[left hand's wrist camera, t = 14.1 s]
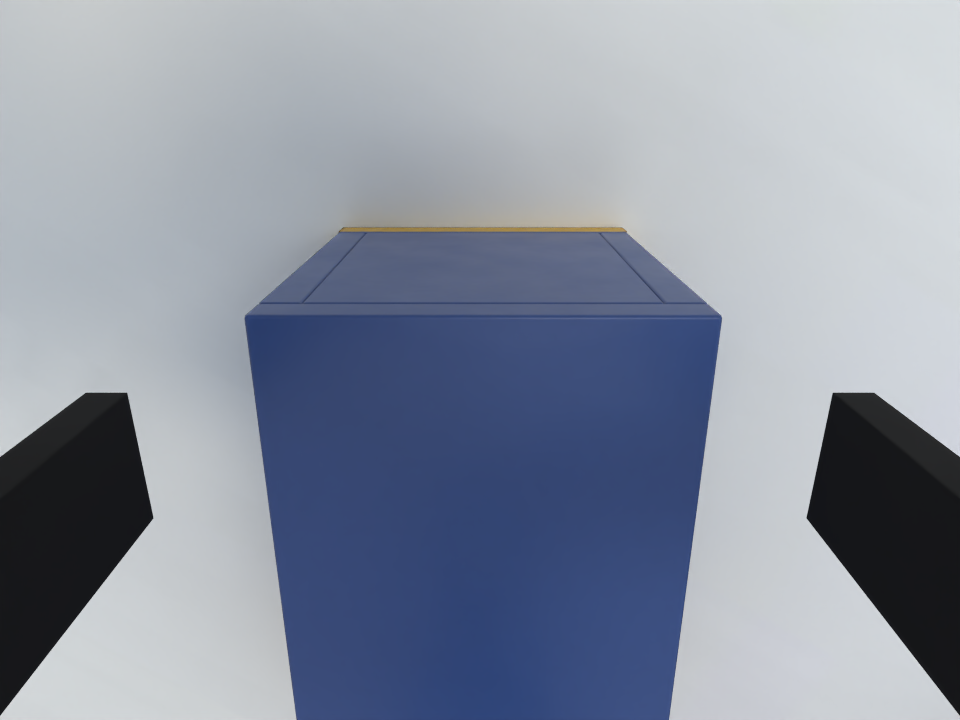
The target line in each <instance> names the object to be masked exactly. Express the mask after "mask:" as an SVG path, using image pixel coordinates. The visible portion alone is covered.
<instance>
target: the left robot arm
mask: <svg viewBox="0 0 960 720" xmlns="http://www.w3.org/2000/svg"><path fill="white" fill-rule="evenodd" d="M152 519H153V514H152V509H151V504H150V500H149V495H148V490H147V485H146V481H145V476H144V471H143V466H142V461H141V457H140V452H139V447H138V442H137V438H136V433H135V428H134V423H133V419H132V414H131V409H130V404H129V399H128V395H127V393H85V394H84V395H82V396H81V397H80V398H78V399H77V400H76V401H74V402H73V403H72V404H70V405H69V406H68V407H66V408H65V409H64V410H62V411H61V412H60V413H58V414H57V415H56V416H54V417H53V418H52V419H50V420H49V421H48V422H46V423H45V424H44V425H42V426H41V427H40V428H38V429H37V430H36V431H34V432H33V433H32V434H30V435H29V436H28V437H26V438H25V439H24V440H22V441H21V442H20V443H18V444H17V445H16V446H14V447H13V448H12V449H10V450H9V451H8V452H6V453H5V454H4V455H2V456H1V457H0V715H1V714H2V713H3V711H4V710H5V709H6V707H7V706H8V705H9V704H10V702H11V701H12V700H13V698H14V697H15V696H16V695H17V693H18V692H19V691H20V689H21V688H22V687H23V686H24V684H25V683H26V682H27V680H28V679H29V678H30V677H31V675H32V674H33V673H34V671H35V670H36V669H37V667H38V666H39V665H40V664H41V662H42V661H43V660H44V658H45V657H46V656H47V655H48V653H49V652H50V651H51V649H52V648H53V647H54V646H55V644H56V643H57V642H58V640H59V639H60V638H61V637H62V635H63V634H64V633H65V631H66V630H67V629H68V628H69V626H70V625H71V624H72V622H73V621H74V620H75V619H76V617H77V616H78V615H79V613H80V612H81V611H82V610H83V608H84V607H85V606H86V604H87V603H88V602H89V600H90V599H91V598H92V597H93V595H94V594H95V593H96V591H97V590H98V589H99V588H100V586H101V585H102V584H103V582H104V581H105V580H106V579H107V577H108V576H109V575H110V573H111V572H112V571H113V570H114V568H115V567H116V566H117V564H118V563H119V562H120V561H121V559H122V558H123V557H124V555H125V554H126V553H127V552H128V550H129V549H130V548H131V546H132V545H133V544H134V543H135V541H136V540H137V539H138V537H139V536H140V535H141V534H142V532H143V531H144V530H145V528H146V527H147V526H148V524H149V523H150V522H151V521H152ZM807 519H808V521H809V522H810V523H811V524H812V526H813V527H814V528H815V530H816V531H817V532H818V534H819V535H820V536H821V537H822V539H823V540H824V541H825V543H826V544H827V545H828V546H829V548H830V549H831V550H832V552H833V553H834V554H835V555H836V557H837V558H838V559H839V561H840V562H841V563H842V564H843V566H844V567H845V568H846V570H847V571H848V572H849V573H850V575H851V576H852V577H853V579H854V580H855V581H856V582H857V584H858V585H859V586H860V588H861V589H862V590H863V591H864V593H865V594H866V595H867V597H868V598H869V599H870V601H871V602H872V603H873V604H874V606H875V607H876V608H877V610H878V611H879V612H880V613H881V615H882V616H883V617H884V619H885V620H886V621H887V622H888V624H889V625H890V626H891V628H892V629H893V630H894V631H895V633H896V634H897V635H898V637H899V638H900V639H901V640H902V642H903V643H904V644H905V646H906V647H907V648H908V649H909V651H910V652H911V653H912V655H913V656H914V657H915V658H916V660H917V661H918V662H919V664H920V665H921V666H922V667H923V669H924V670H925V671H926V673H927V674H928V675H929V677H930V678H931V679H932V680H933V682H934V683H935V684H936V686H937V687H938V688H939V689H940V691H941V692H942V693H943V695H944V696H945V697H946V698H947V700H948V701H949V702H950V704H951V705H952V706H953V707H954V709H955V710H956V711H957V713H958V714H959V715H960V457H959V456H958V455H956V454H955V453H954V452H952V451H951V450H950V449H948V448H947V447H946V446H944V445H943V444H942V443H940V442H939V441H938V440H936V439H935V438H934V437H932V436H931V435H930V434H928V433H927V432H926V431H924V430H923V429H922V428H920V427H919V426H918V425H916V424H915V423H914V422H912V421H911V420H910V419H908V418H907V417H906V416H904V415H903V414H902V413H900V412H899V411H898V410H896V409H895V408H894V407H892V406H891V405H890V404H888V403H887V402H886V401H884V400H883V399H882V398H880V397H879V396H878V395H876V394H875V393H833V395H832V399H831V404H830V409H829V414H828V419H827V423H826V428H825V433H824V438H823V442H822V447H821V452H820V457H819V461H818V466H817V471H816V476H815V481H814V485H813V490H812V495H811V500H810V504H809V509H808V514H807Z"/></svg>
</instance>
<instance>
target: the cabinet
mask: <svg viewBox="0 0 960 720" xmlns="http://www.w3.org/2000/svg"><path fill="white" fill-rule="evenodd" d="M721 322H722V317H721V315H720V314H719V313H717V312H716V311H715V310H714V309H713V308H712V307H711V306H709V305H708V304H707V303H706V302H705V301H704V300H703V299H701V298H700V297H699V296H698V295H697V294H696V293H695V292H693V291H692V290H691V289H690V288H689V287H688V286H687V285H685V284H684V283H683V282H682V281H681V280H680V279H679V278H677V277H676V276H675V275H674V274H673V273H672V272H671V271H669V270H668V269H667V268H666V267H665V266H664V265H663V264H661V263H660V262H659V261H658V260H657V259H656V258H655V257H653V256H652V255H651V254H650V253H649V252H648V251H647V250H645V249H644V248H643V247H642V246H641V245H640V244H639V243H637V242H636V241H635V240H634V239H633V238H632V237H631V236H629V235H628V234H627V231H626V230H624V229H623V228H342V229H341V230H340V231H339V234H337V235H336V236H335V237H334V238H333V239H332V240H330V241H329V242H328V243H327V244H326V245H325V246H324V247H322V248H321V249H320V250H319V251H318V252H317V253H316V254H314V255H313V256H312V257H311V258H310V259H309V260H308V261H307V262H305V263H304V264H303V265H302V266H301V267H300V268H299V269H297V270H296V271H295V272H294V273H293V274H292V275H291V276H289V277H288V278H287V279H286V280H285V281H284V282H283V283H282V284H280V285H279V286H278V287H277V288H276V289H275V290H274V291H272V292H271V293H270V294H269V295H268V296H267V297H266V298H264V299H263V300H262V301H261V302H260V303H259V304H258V305H257V306H256V307H254V308H253V309H252V310H251V311H250V312H249V313H248V314H247V315H245V325H246V333H247V341H248V348H249V356H250V364H251V371H252V379H253V387H254V395H255V402H256V410H257V418H258V425H259V433H260V441H261V449H262V456H263V464H264V472H265V479H266V487H267V495H268V503H269V510H270V518H271V526H272V533H273V541H274V549H275V557H276V564H277V572H278V580H279V587H280V595H281V603H282V611H283V618H284V626H285V634H286V641H287V649H288V657H289V665H290V672H291V680H292V688H293V695H294V703H295V711H296V718H297V720H669V715H670V707H671V700H672V692H673V685H674V677H675V669H676V662H677V654H678V647H679V639H680V632H681V624H682V617H683V609H684V601H685V594H686V586H687V579H688V571H689V564H690V556H691V549H692V541H693V533H694V526H695V518H696V511H697V503H698V496H699V488H700V481H701V473H702V465H703V458H704V450H705V443H706V435H707V428H708V420H709V413H710V405H711V397H712V390H713V382H714V375H715V367H716V360H717V352H718V345H719V337H720V329H721Z"/></svg>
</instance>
